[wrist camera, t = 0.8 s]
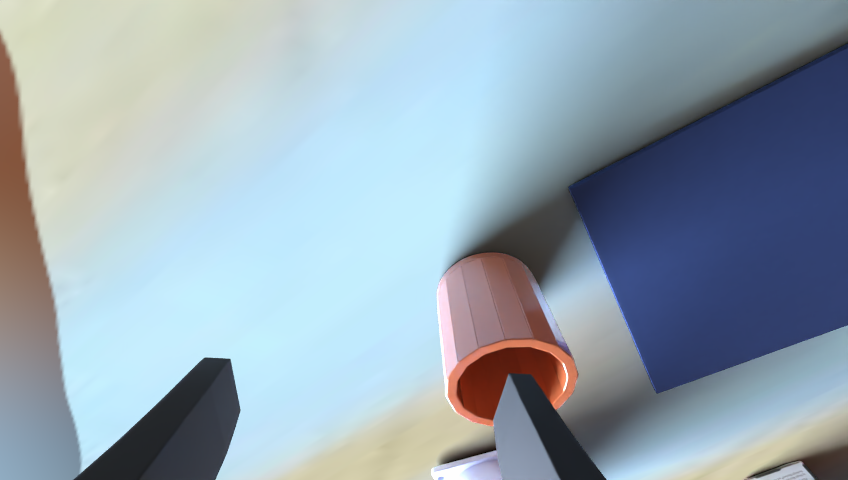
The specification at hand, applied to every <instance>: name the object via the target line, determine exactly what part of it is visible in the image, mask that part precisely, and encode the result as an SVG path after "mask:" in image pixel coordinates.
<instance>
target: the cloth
mask: <svg viewBox="0 0 848 480" xmlns="http://www.w3.org/2000/svg"><path fill="white" fill-rule="evenodd" d="M568 188H569V190H570V193H571V195H572V197H573V200H574V202H575V204H576V207H577V209H578V211H579V214H580V216H581V219H582V221H583V223H584V226H585V228H586V230H587V233H588V235H589V237H590V240H591V242H592V244H593V247H594V249H595V251H596V254H597V256H598V258H599V261H600V263H601V265H602V268H603V270H604V273H605V275H606V277H607V280H608V282H609V284H610V287H611V289H612V291H613V294H614V296H615V298H616V301H617V303H618V305H619V308H620V310H621V312H622V315H623V317H624V319H625V322H626V324H627V326H628V329H629V331H630V334H631V336H632V338H633V341H634V343H635V345H636V348H637V350H638V352H639V355H640V357H641V359H642V362H643V364H644V366H645V369H646V371H647V373H648V376H649V378H650V380H651V383H652V385H653V388H654V390H655V392H656V393H657V394H658V393H661V392H664V391H666V390H669V389H672V388H675V387H677V386H680V385H683V384H686V383H689V382H691V381H694V380H697V379H700V378H702V377H705V376H708V375H711V374H714V373H716V372H719V371H722V370H725V369H727V368H730V367H733V366H736V365H739V364H741V363H744V362H747V361H750V360H752V359H755V358H758V357H761V356H764V355H766V354H769V353H772V352H775V351H777V350H780V349H783V348H786V347H789V346H791V345H794V344H797V343H800V342H802V341H805V340H808V339H811V338H814V337H816V336H819V335H822V334H825V333H827V332H830V331H833V330H836V329H839V328H841V327H844V326H847V325H848V43H847V44H845V45H844V46H842V47H840V48H838V49H836V50H834V51H832V52H830V53H828V54H826V55H824V56H822V57H820V58H818V59H816V60H814V61H812V62H810V63H808V64H807V65H805V66H803V67H801V68H799V69H797V70H795V71H793V72H791V73H789V74H787V75H785V76H783V77H781V78H779V79H777V80H775V81H773V82H771V83H770V84H768V85H766V86H764V87H762V88H760V89H758V90H756V91H754V92H752V93H750V94H748V95H746V96H744V97H742V98H740V99H738V100H736V101H734V102H733V103H731V104H729V105H727V106H725V107H723V108H721V109H719V110H717V111H715V112H713V113H711V114H709V115H707V116H705V117H703V118H701V119H699V120H697V121H696V122H694V123H692V124H690V125H688V126H686V127H684V128H682V129H680V130H678V131H676V132H674V133H672V134H670V135H668V136H666V137H664V138H662V139H660V140H659V141H657V142H655V143H653V144H651V145H649V146H647V147H645V148H643V149H641V150H639V151H637V152H635V153H633V154H631V155H629V156H627V157H625V158H623V159H622V160H620V161H618V162H616V163H614V164H612V165H610V166H608V167H606V168H604V169H602V170H600V171H598V172H596V173H594V174H592V175H590V176H588V177H586V178H585V179H583V180H581V181H579V182H577V183H575V184H573V185H571V186H569V187H568Z"/></svg>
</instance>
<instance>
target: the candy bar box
mask: <svg viewBox="0 0 848 480" xmlns="http://www.w3.org/2000/svg"><path fill="white" fill-rule="evenodd" d="M745 480H818V478H817V477H816V476H815V475H814V474H813V473H812V472H811V471H810V470H809V468H808V467H807V466H806V465H805V464H804V463H803V462H802V461H796V462H792V463H788V464H785V465H782V466H780V467H777V468H775V469H772V470H769V471H766V472H764V473H761V474H759V475H756V476H753V477H751V478H748V479H745Z"/></svg>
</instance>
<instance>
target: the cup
mask: <svg viewBox="0 0 848 480" xmlns="http://www.w3.org/2000/svg"><path fill="white" fill-rule="evenodd" d="M437 312H438V322H439V332H440V342H441V352H442V362H443V372H444V382H445V392H446V397H447V399H448V401H449V402H450V404H451V406H452V407H453V409H454V411H456V412H457V413H458V414H460V415H461V416H463V417H465V418H466V419H468V420H470V421H472V422H475V423H479V424H484V425H488V426H494V425H493V419H494V416H495V413H496V410H497V407H498V404H499V401H500V398H501V395H502V392H503V389H504V386H505V383H506V380H507V377H508V374H509V373H516V374H531V375H532V376H533V377H534V379H535V380H536V382H537V383H538V385H539V386H540V388H541V389H542V391H543V392H544V394H545V395H546V397H547V398H548V400H549V401H550V403H551V404H552V406H553V407H554V408H555V410H557V409H559V407H561V406H562V405H563V404H564V402H565V401H566V400H567V399H568V398H569V397H570V396H571V395H572V394H573V392H574V389H575V386H576V382H577V379H578V371H577V368H576V365H575V362H574V359H573V356H572V354H571V352H570V350H569V348H568V346H567V344H566V342H565V340H564V338H563V336H562V333H561V331H560V329H559V327H558V325H557V323H556V321H555V319H554V317H553V315H552V313H551V310H550V308H549V306H548V304H547V302H546V300H545V298H544V296H543V294H542V292H541V290H540V288H539V285H538V283H537V281H536V279H535V277H534V276H533V274H532V272H531V271H530V269H529V268H528V267H527V266H526V265H525V264H524V263H523V262H522V261H520V260H519V259H517V258H515V257H513V256H510V255H507V254H504V253H497V252H486V253H479V254H475V255H471V256H468V257H466V258H464V259H462V260H460V261H458V262H457V263H455V264H454V265H453V266H452V267H451V268H449V269H448V270H447V272H446V273H445V274H444V275H443V277H442V279H441V280H440V283H439V285H438V289H437Z"/></svg>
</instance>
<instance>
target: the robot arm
mask: <svg viewBox="0 0 848 480" xmlns="http://www.w3.org/2000/svg"><path fill="white" fill-rule="evenodd" d="M239 414H240V406H239V401H238V395H237V390H236V385H235V380H234V375H233V370H232V365H231V360H230V359H223V358H204V359H203V360H201V361H200V362H199V363H198V364H197V365H196V366H195V367H194V368H193V369H192V370H191V371H190V372H189V373H188V374H187V375H186V376H185V377H184V378H183V379H182V380H181V381H180V382H179V383H178V384H177V385H176V386H175V387H174V388H173V389H172V390H171V391H170V392H169V393H168V394H167V395H166V396H165V397H164V398H163V399H162V400H161V401H160V402H159V403H157V404H156V405H155V406H154V407H153V408H152V409H151V410H150V411H149V412H148V413H147V414H146V415H145V416H144V417H143V418H142V419H141V420H140V421H138V422H137V423H136V424H135V425H134V426H133V427H132V428H131V429H130V430H129V431H128V432H127V433H126V434H125V435H123V436H122V437H121V438H120V439H119V440H118V441H117V442H116V443H115V444H114V445H113V446H111V447H110V448H109V449H108V450H107V451H106V452H105V453H103V454H102V455H101V456H100V457H99V458H98V459H97V460H95V461H94V462H93V463H92V464H91V465H90V466H89V467H87V468H86V469H85V470H84V471H83V472H82V473H81V474H79V475H78V476H77V477H76V478H75V479H74V480H215V479H216V477H217V475H218V472H219V470H220V468H221V466H222V463H223V461H224V459H225V456H226V454H227V451H228V448H229V445H230V442H231V439H232V436H233V433H234V430H235V427H236V423H237V420H238V417H239ZM493 425H494V433H495V442H496V449H497V450H495V451H492V452H488V453H484V454H480V455H477V456H473V457H469V458H466V459H462V460H458V461H454V462H451V463H447V464H443V465H440V466H436V467H434V468H433V469H432V476H433V477H434V479H435V480H606V478H605V477H604V476H603V474H602V473H601V472H600V471H599V469H598V468H597V467H596V465H595V464H594V463H593V461H592V460H591V459H590V457H589V456H588V455H587V453H586V452H585V451H584V449H583V448H582V446H581V445H580V444H579V442H578V441H577V440H576V438H575V437H574V436H573V434H572V433H571V431H570V430H569V429H568V427H567V426H566V424H565V423H564V421H563V420H562V419H561V417H560V416H559V414H558V413H557V411H556V410H555V408H554V407H553V406H552V404H551V403H550V401H549V400H548V398H547V397H546V395H545V394H544V392H543V391H542V389H541V388H540V386H539V385H538V383H537V382H536V380H535V379H534V377H533V376H532V375H531V374H516V373H509V374H508V377H507V380H506V383H505V386H504V389H503V392H502V395H501V398H500V401H499V404H498V407H497V410H496V413H495V416H494V419H493Z"/></svg>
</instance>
